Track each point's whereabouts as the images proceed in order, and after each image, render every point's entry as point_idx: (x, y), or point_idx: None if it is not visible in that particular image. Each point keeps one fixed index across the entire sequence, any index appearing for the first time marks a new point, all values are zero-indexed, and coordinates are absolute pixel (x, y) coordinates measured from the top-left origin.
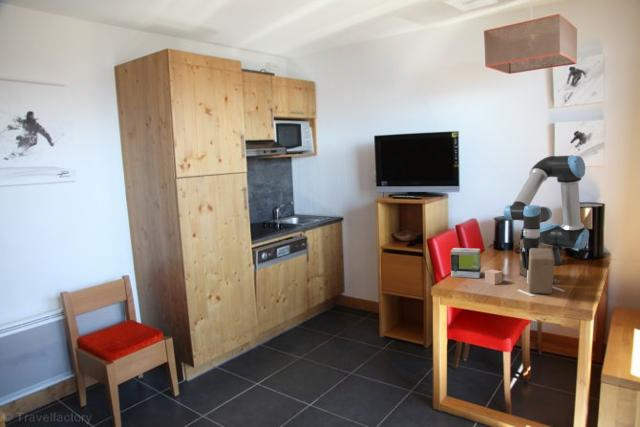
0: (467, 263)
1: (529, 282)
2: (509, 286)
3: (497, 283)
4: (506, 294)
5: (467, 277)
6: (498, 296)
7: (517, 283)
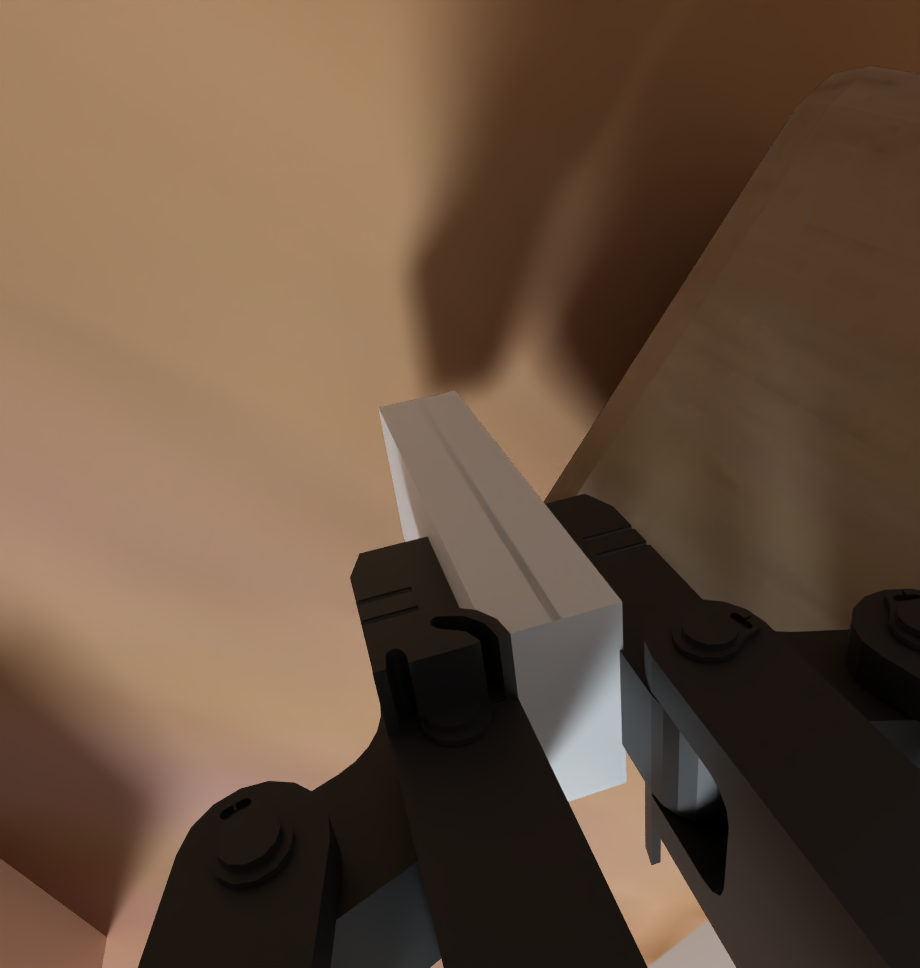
0: None
1: None
2: (263, 760)
3: (50, 905)
4: (616, 868)
5: None
6: (639, 945)
7: (59, 563)
